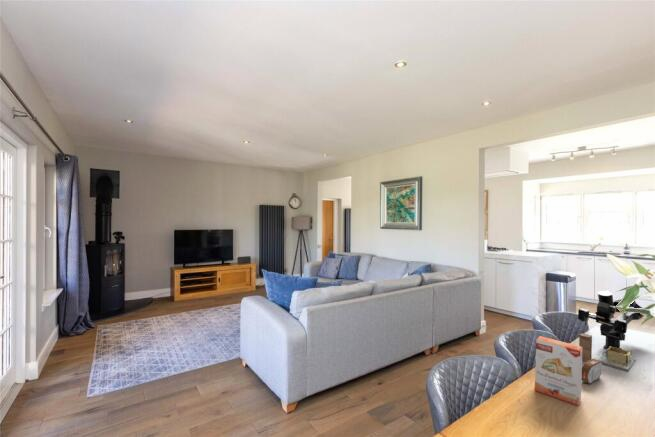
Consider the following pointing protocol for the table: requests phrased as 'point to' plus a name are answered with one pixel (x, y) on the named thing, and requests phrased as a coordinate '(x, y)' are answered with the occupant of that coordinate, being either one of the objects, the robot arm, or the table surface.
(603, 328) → the robot arm
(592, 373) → the tin
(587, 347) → the brown square block
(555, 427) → the table surface
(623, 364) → the base plate
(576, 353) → the cracker box
